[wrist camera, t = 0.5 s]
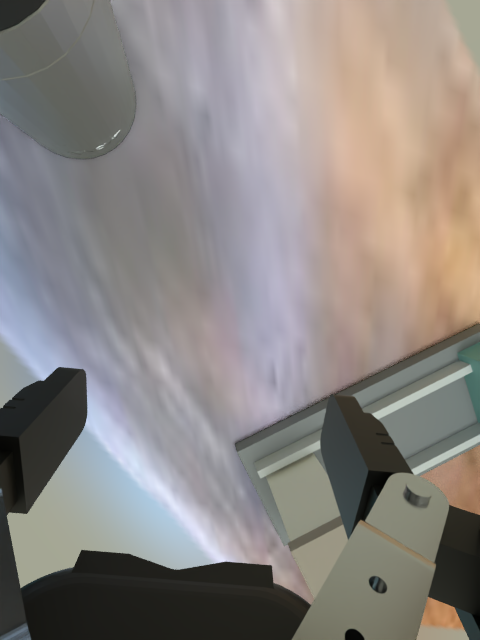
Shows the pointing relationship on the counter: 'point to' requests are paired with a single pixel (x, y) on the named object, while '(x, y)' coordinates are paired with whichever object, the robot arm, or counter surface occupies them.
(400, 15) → the counter surface
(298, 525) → the keeper
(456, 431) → the rail track
